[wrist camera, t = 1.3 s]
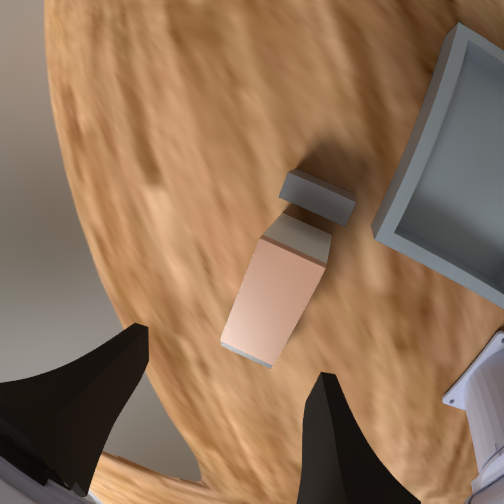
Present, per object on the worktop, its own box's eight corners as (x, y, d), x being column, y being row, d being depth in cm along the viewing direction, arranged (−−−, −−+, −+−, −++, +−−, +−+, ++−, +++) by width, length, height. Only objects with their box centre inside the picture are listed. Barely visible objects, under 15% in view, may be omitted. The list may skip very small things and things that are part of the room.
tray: (562, 124, 11) (585, 125, 9) (491, 290, 17) (507, 311, 15) (444, 36, 13) (458, 22, 10) (370, 225, 19) (374, 239, 16)
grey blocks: (355, 194, 18) (356, 202, 16) (278, 348, 24) (270, 368, 22) (295, 168, 19) (288, 172, 17) (232, 326, 24) (220, 344, 22)
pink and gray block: (332, 235, 20) (325, 268, 15) (290, 318, 23) (273, 365, 18) (282, 212, 20) (259, 238, 15) (247, 298, 23) (219, 340, 18)
